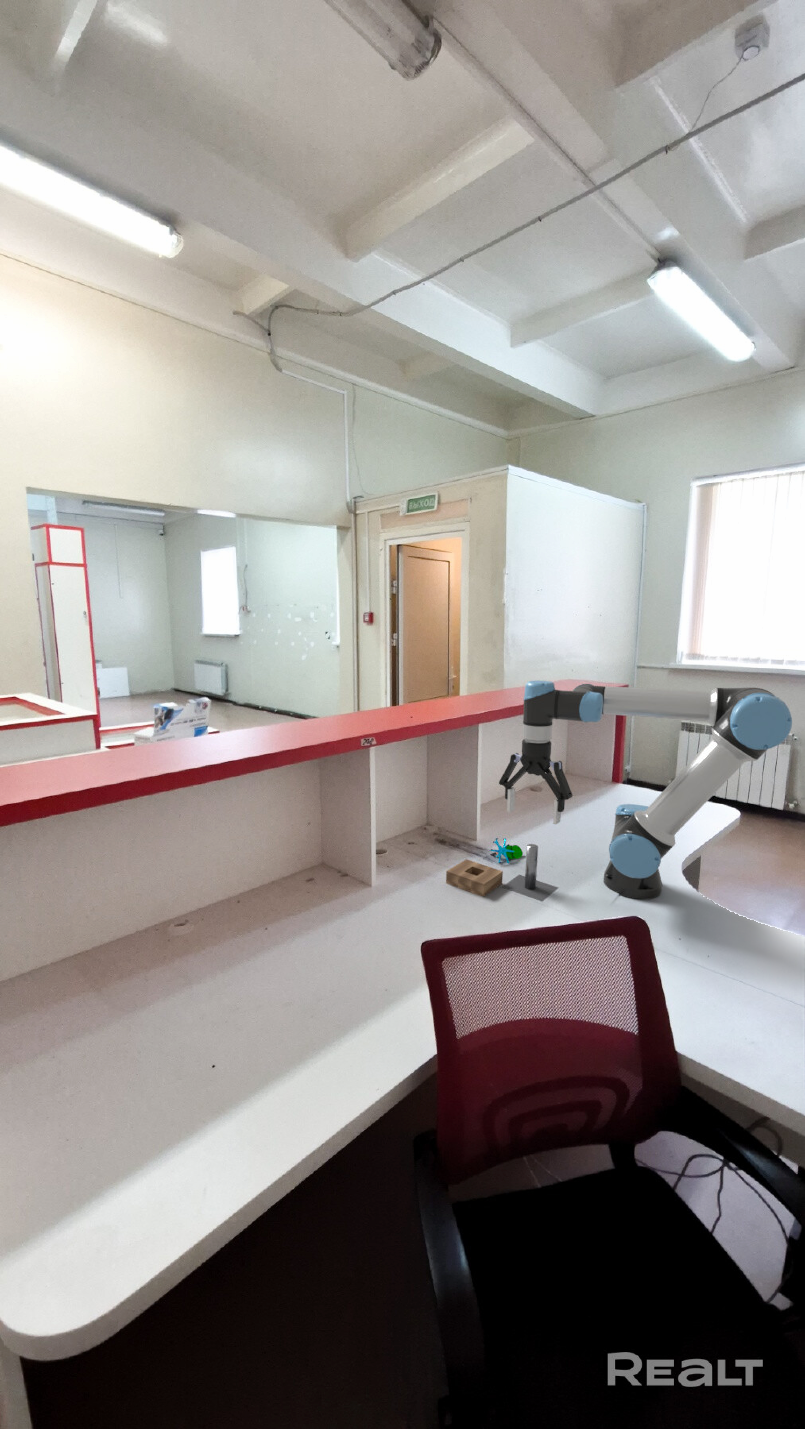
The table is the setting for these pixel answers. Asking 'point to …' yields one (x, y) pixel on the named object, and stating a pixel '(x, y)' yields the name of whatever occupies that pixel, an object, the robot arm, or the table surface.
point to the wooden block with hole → (474, 877)
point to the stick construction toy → (507, 851)
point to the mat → (538, 893)
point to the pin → (531, 866)
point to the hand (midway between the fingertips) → (533, 816)
